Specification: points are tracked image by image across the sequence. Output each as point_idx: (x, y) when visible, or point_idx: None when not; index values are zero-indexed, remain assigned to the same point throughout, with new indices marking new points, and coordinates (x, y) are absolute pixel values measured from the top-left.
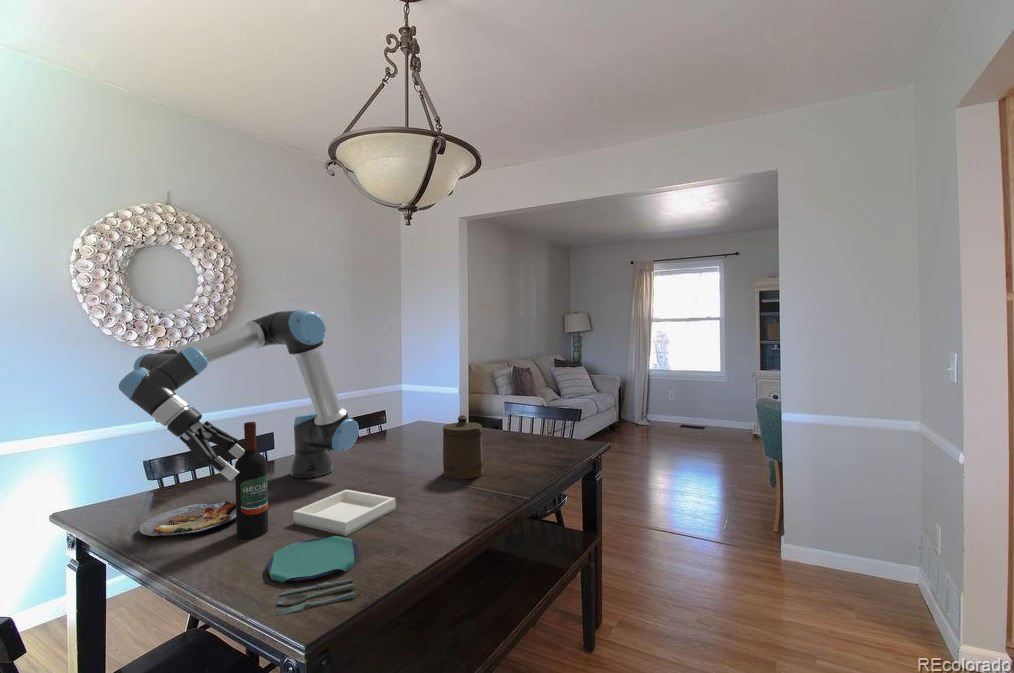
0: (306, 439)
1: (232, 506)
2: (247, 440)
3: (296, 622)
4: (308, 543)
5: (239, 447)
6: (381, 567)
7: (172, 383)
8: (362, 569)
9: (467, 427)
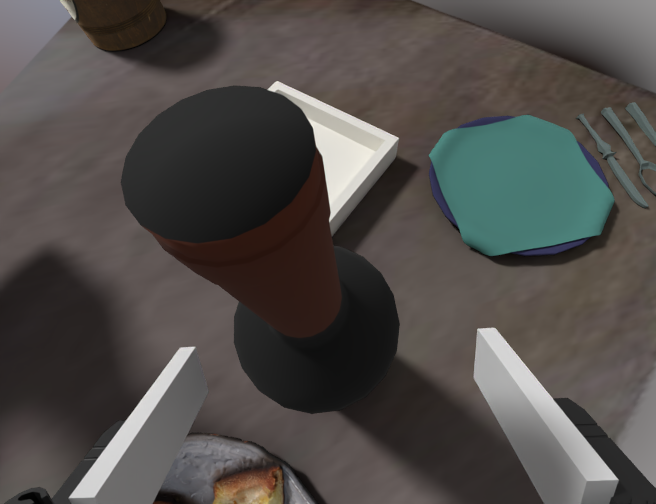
0: None
1: None
2: (336, 278)
3: None
4: (450, 203)
5: (125, 451)
6: (528, 91)
7: None
8: (536, 112)
9: None
